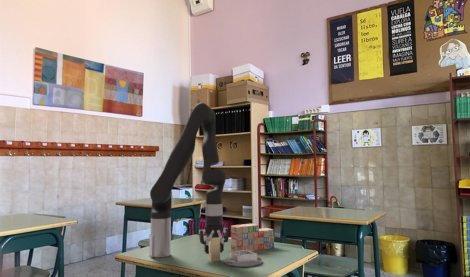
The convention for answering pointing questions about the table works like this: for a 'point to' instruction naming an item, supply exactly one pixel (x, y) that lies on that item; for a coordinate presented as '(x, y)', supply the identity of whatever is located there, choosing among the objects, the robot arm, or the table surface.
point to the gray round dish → (243, 259)
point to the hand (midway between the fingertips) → (214, 252)
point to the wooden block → (214, 249)
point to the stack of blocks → (251, 237)
